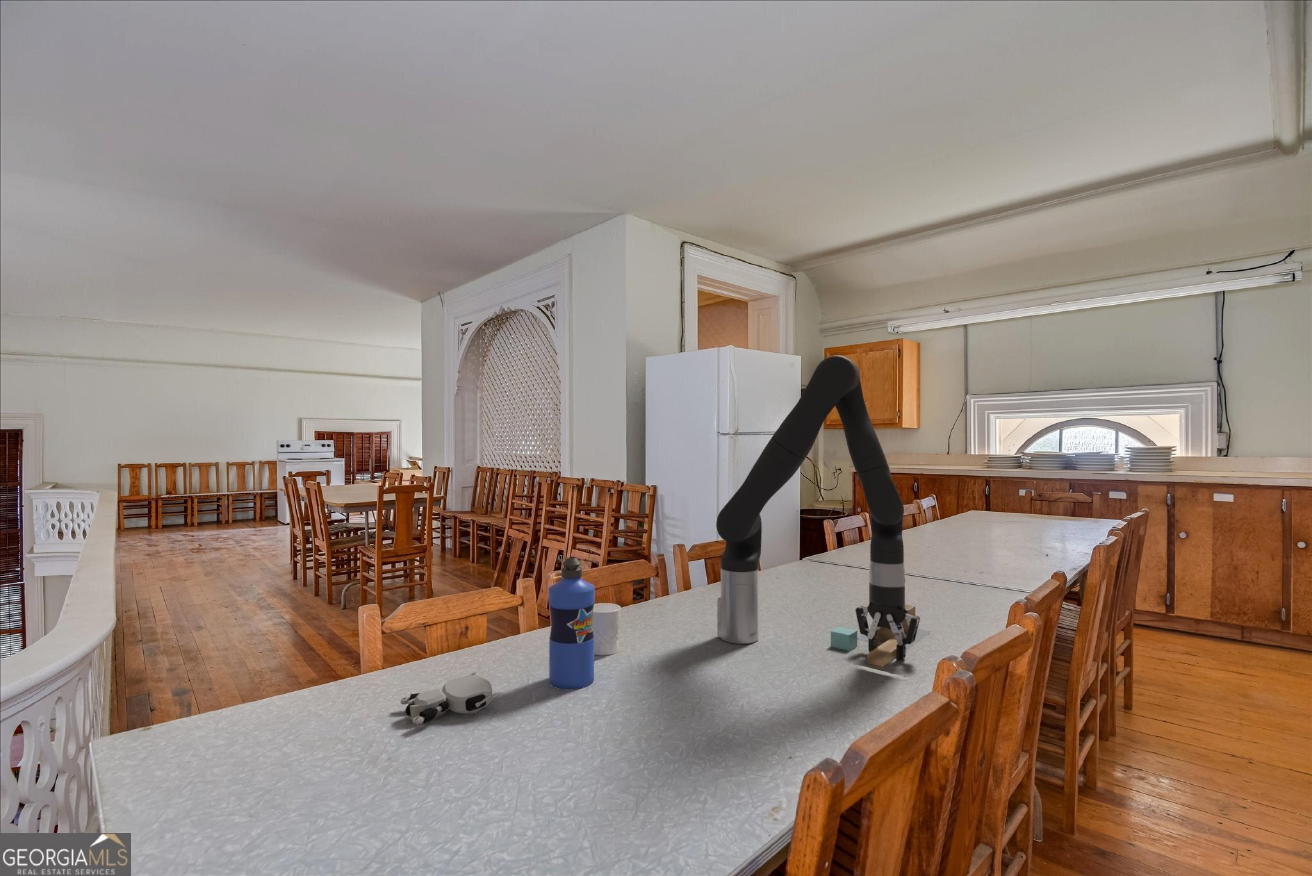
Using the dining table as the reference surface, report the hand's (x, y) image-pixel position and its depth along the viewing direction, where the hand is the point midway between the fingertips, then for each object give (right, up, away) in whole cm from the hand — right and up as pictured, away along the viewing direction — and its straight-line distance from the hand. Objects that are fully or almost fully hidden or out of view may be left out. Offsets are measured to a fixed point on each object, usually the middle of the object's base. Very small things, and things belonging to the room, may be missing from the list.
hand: (886, 657), depth 139 cm
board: (+7, -1, +15) cm, 16 cm away
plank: (0, -1, 0) cm, 1 cm away
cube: (-8, -1, +7) cm, 10 cm away
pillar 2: (+11, 0, +19) cm, 21 cm away
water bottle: (-69, -1, -12) cm, 70 cm away
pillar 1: (+4, 0, +11) cm, 12 cm away
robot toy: (-89, -1, -27) cm, 93 cm away
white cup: (-64, -1, +6) cm, 64 cm away
